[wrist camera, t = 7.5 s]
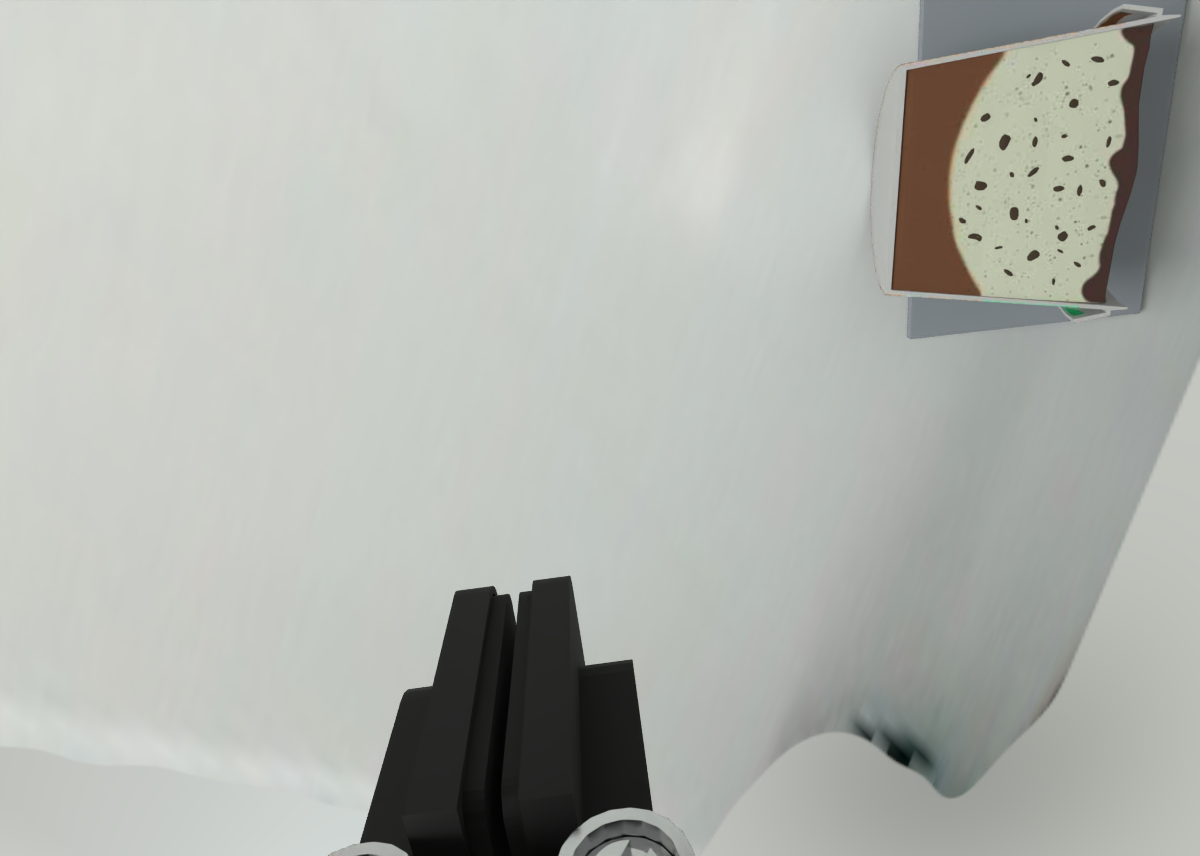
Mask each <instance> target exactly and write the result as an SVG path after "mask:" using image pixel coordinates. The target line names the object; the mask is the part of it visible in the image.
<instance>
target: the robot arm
mask: <svg viewBox="0 0 1200 856" xmlns="http://www.w3.org/2000/svg"><path fill="white" fill-rule="evenodd" d="M328 856H695V854H694V851H693V848H692V846H691V845H690V843H689V841H688V839H687V838H686V836H685V834H684V833H683V831H682V830H681V829H680V828H679V827H677V826H676V825H675V824H674V823H673V822H672V821H671V820H669V819H668V818H666V817H664V816H662V815H659V814H657V813H655V812H653V809H652V802H651V795H650V787H649V780H648V772H647V765H646V757H645V750H644V742H643V735H642V728H641V720H640V713H639V705H638V698H637V690H636V683H635V675H634V668H633V661H632V660H624V661H617V662H609V663H602V664H594V665H587V666H585V661H584V655H583V648H582V642H581V636H580V630H579V624H578V617H577V611H576V605H575V599H574V593H573V587H572V581H571V577H570V576H564V577H557V578H549V579H542V580H534V581H533V585H532V591H527V592H520V594H519V603H518V613H517V624H516V621H515V616H514V611H513V605H512V601H511V597H510V595H509V594H505V595H497V592H496V589H495V587H494V586H490V587H482V588H475V589H467V590H460V591H456V592H455V595H454V598H453V603H452V607H451V611H450V615H449V619H448V624H447V628H446V632H445V636H444V640H443V645H442V649H441V653H440V657H439V661H438V666H437V670H436V674H435V678H434V682H433V686H430V687H422V688H415V689H408V690H407V691H406V692H405V693H404V695H403V697H402V699H401V702H400V706H399V709H398V713H397V716H396V720H395V723H394V727H393V730H392V734H391V737H390V740H389V744H388V747H387V751H386V754H385V758H384V761H383V765H382V768H381V772H380V775H379V779H378V782H377V786H376V789H375V792H374V796H373V799H372V803H371V806H370V810H369V813H368V817H367V820H366V824H365V827H364V831H363V834H362V838H361V841H360V844H354V845H351V846H348V847H346V848H343V849H341V850H338V851H336V852H333V853H331V854H330V855H328Z"/></svg>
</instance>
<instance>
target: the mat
mask: <svg viewBox="0 0 1200 856" xmlns="http://www.w3.org/2000/svg"><path fill="white" fill-rule="evenodd" d="M1123 4H1130V5H1139V6H1147V7H1156V8H1163V13H1162V15H1181V17H1179V18H1177V19H1174V20H1172V21H1169V22H1168V23H1166V24H1165V25H1163V26H1162V27H1160V28H1159V29H1157V30H1156V31H1155V32H1154V33H1153V34H1152V35H1151V41H1150V48H1149V52H1148V56H1147V59H1146V63H1145V67H1144V74H1143V81H1142V87H1141V94H1140V101H1139V149H1138V167H1137V173H1136V177H1135V181H1134V184H1133V188H1132V191H1131V194H1130V197H1129V200H1128V203H1127V206H1126V209H1125V212H1124V215H1123V218H1122V220H1121V224H1120V227H1119V231H1118V234H1117V238H1116V241H1115V245H1114V251H1113V256H1112V262H1111V268H1110V273H1109V279H1108V284H1107V288H1108V290H1109V292H1110V293H1111V294H1112V295H1113V296H1114V297H1115V298H1116V299H1117V300H1118V301H1119V302H1120V303H1122V304H1123V305H1125V306H1126V307H1128V308H1127V309H1125V310H1110V312H1111V313H1110V316H1118V315H1126V314H1135V313H1140V307H1141V301H1142V294H1143V287H1144V281H1145V274H1146V267H1147V261H1148V254H1149V247H1150V240H1151V234H1152V227H1153V220H1154V214H1155V207H1156V200H1157V193H1158V187H1159V180H1160V173H1161V167H1162V160H1163V153H1164V147H1165V140H1166V133H1167V126H1168V120H1169V113H1170V106H1171V100H1172V93H1173V86H1174V80H1175V73H1176V66H1177V59H1178V53H1179V46H1180V39H1181V33H1182V26H1183V19H1184V13H1185V6H1186V0H920V23H919V48H918V61H923V60H928V59H934V58H939V57H944V56H950V55H955V54H960V53H966V52H971V51H976V50H982V49H987V48H992V47H998V46H1003V45H1008V44H1014V43H1019V42H1024V41H1030V40H1035V39H1040V38H1045V37H1051V36H1056V35H1061V34H1067V33H1072V32H1077V31H1083V30H1088V29H1093V28H1094V26H1095V25H1096V24H1097V23H1098V22H1099V21H1100V20H1101V19H1102V18H1103V17H1104V16H1105V15H1107V14H1108V13H1109V12H1110V11H1112V10H1113V9H1115V8H1117V7H1119V6H1121V5H1123ZM1106 317H1109V316H1106ZM1065 321H1071V320H1070V319H1069V318H1067V317H1066V316H1065V315H1064V314H1063V312H1062V311H1061V310H1060V309H1059V307H1058V306H1043V305H1028V304H1013V303H997V302H982V301H967V300H952V299H937V298H922V297H909V300H908V325H907V337H908V338H909V339H915V338H924V337H933V336H942V335H950V334H959V333H968V332H977V331H986V330H994V329H1003V328H1012V327H1021V326H1030V325H1038V324H1047V323H1056V322H1065Z"/></svg>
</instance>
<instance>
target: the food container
mask: <svg viewBox="0 0 1200 856" xmlns="http://www.w3.org/2000/svg"><path fill="white" fill-rule="evenodd" d="M1162 13H1163V8H1156V7H1147V6H1139V5H1130V4H1123V5H1121V6H1119V7H1117V8H1115V9H1113V10H1112V11H1110V12H1109V13H1108V14H1107V15H1105V16H1104V17H1103V18H1102V19H1101V20H1100V21H1099V22H1098V23H1097V24H1096V25H1095V26H1094V28H1093V29H1088V30H1083V31H1077V32H1072V33H1067V34H1061V35H1056V36H1051V37H1045V38H1040V39H1035V40H1030V41H1024V42H1019V43H1014V44H1008V45H1003V46H998V47H992V48H987V49H982V50H976V51H971V52H966V53H960V54H955V55H950V56H944V57H939V58H934V59H928V60H923V61H918V62H912V63H907V64H902V65H900V66H898V67H897V68H896V69H895V71H894V72H893V74H892V76H891V78H890V80H889V82H888V85H887V88H886V91H885V95H884V99H883V102H882V107H881V111H880V116H879V122H878V127H877V134H876V141H875V149H874V159H873V171H872V189H871V228H872V247H873V255H874V262H875V270H876V274H877V277H878V281H879V284H880V288H881V289H882V291H883V292H884V294H885V295H892V296H907V297H922V298H937V299H952V300H967V301H982V302H997V303H1013V304H1028V305H1043V306H1058V307H1059V309H1060V310H1061V311H1062V312H1063V314H1064V315H1065V316H1066V317H1067V318H1069V319H1070V320H1071V321H1072V322H1074V323H1076V322H1081V321H1086V320H1091V319H1096V318H1101V317H1106V316H1110V313H1111V312H1110V310H1125V309H1127V308H1128V307H1126V306H1125V305H1123V304H1122V303H1120V302H1119V301H1118V300H1117V299H1116V298H1115V297H1114V296H1113V295H1112V294H1111V293H1110V292H1109V290H1108V288H1107V284H1108V279H1109V273H1110V268H1111V262H1112V256H1113V251H1114V245H1115V241H1116V238H1117V234H1118V231H1119V227H1120V224H1121V220H1122V218H1123V215H1124V212H1125V209H1126V206H1127V203H1128V200H1129V197H1130V194H1131V191H1132V188H1133V184H1134V181H1135V177H1136V173H1137V167H1138V149H1139V101H1140V94H1141V87H1142V81H1143V74H1144V67H1145V63H1146V59H1147V56H1148V52H1149V48H1150V41H1151V35H1152V34H1153V33H1154V32H1155V31H1156V30H1157V29H1159V28H1160V27H1162V26H1163V25H1165V24H1166V23H1168V22H1169V21H1172V20H1174V19H1177V18H1179V17H1181V15H1162Z"/></svg>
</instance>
